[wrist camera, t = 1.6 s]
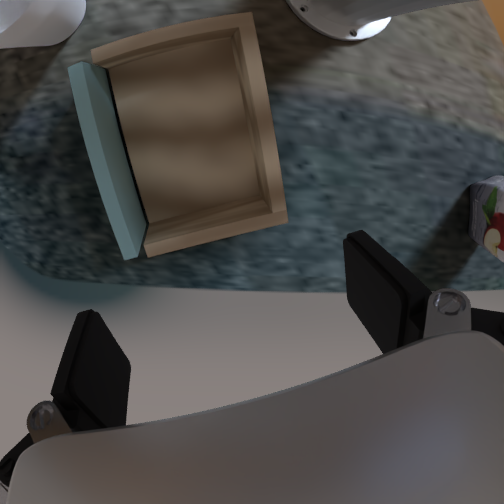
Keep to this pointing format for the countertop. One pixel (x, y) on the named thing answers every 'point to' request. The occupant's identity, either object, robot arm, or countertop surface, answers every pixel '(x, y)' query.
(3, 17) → the cup
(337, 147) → the countertop surface
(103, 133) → the panel
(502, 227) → the juice carton
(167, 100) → the crate
